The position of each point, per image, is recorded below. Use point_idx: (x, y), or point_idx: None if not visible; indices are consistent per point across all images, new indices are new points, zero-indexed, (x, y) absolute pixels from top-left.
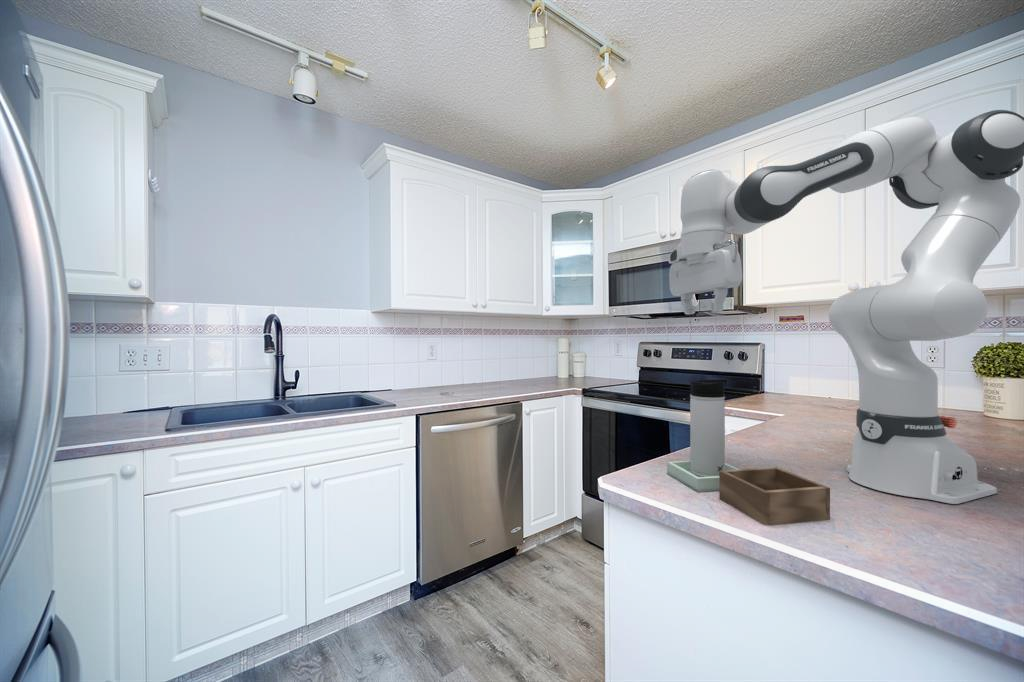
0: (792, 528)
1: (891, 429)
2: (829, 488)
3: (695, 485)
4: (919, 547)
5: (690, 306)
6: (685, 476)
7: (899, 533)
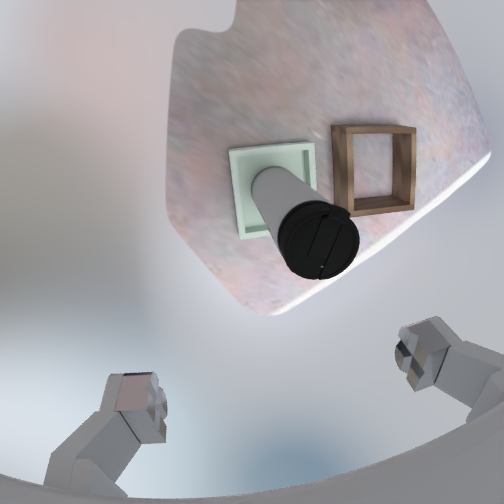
0: None
1: None
2: (415, 128)
3: None
4: (442, 102)
5: (161, 431)
6: None
7: (424, 90)
